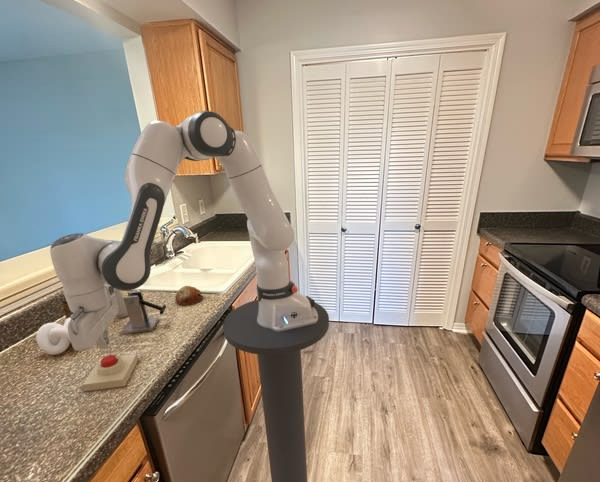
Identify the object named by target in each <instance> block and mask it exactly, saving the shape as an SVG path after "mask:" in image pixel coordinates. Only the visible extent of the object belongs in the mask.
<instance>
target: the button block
mask: <svg viewBox="0 0 600 482" xmlns="http://www.w3.org/2000/svg"><path fill="white" fill-rule="evenodd" d="M115 356H116V360H117V363H116V364H115V365H113V366H110V367H106V368H104V367H103V366H102V363H101V359H102V358H103V357H100V359H99V360H98V361H97V363H95V365H94V367H93V368H92V369H91V372H90V373H89V374H88V376H87V377H86V379H85V380H84V381H83V383H82V385H81V386H82V387H83V390H84V392H91V391H97V390H99V391H100V390H104V389H114V388H121V387H122V388H123V387H125V386H126V385H127V382H128V381H129V379H130V377H131V375H132V373H133V371H134V369H135V368H136V365H137V363H138V361H139V356H138V354H137V353H130V354H122V355H115Z"/></svg>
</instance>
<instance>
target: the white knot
mask: <svg viewBox="0 0 600 482" xmlns="http://www.w3.org/2000/svg"><path fill="white" fill-rule="evenodd" d="M70 320H71V318H66V319H65V320H64V322H63V324H60V323H58V322H46V323H44V324H43V325H42V326H40V327H39V328H38V329H37V332H36V336H35V339H36V343H37V346H38V348H39V349H40V350H41V351H42V352H44V353H45V354H47V355H52V356H53V355H54V356H55V355H60V354H63V353H64V352H66V350H67V349H68V348H69V347H70V344H71V340H70V337H69V333H68V323H69V321H70Z"/></svg>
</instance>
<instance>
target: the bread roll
mask: <svg viewBox="0 0 600 482" xmlns="http://www.w3.org/2000/svg"><path fill="white" fill-rule="evenodd" d="M202 294H203V292H202V291H201V290H200V289H198V288H196V287H194V286H192V285H184V286H182V287H180V288H179V289H178V290H177V292H176V293H175V303H176V304H177V305H180V306H190V305H194V304H197V303H199V302H200V301H201V299H202V298H203V297H204V296H203V295H202Z"/></svg>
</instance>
